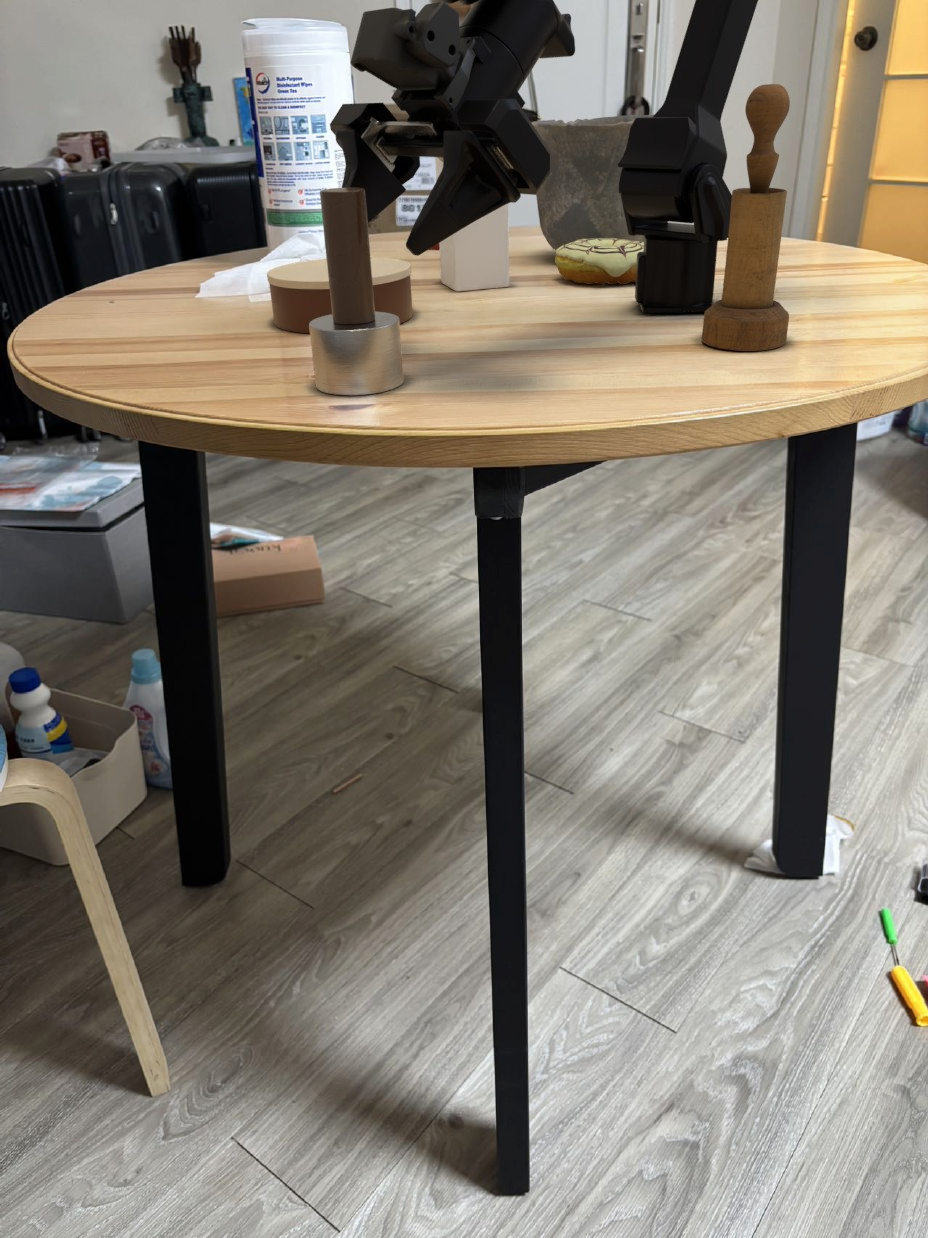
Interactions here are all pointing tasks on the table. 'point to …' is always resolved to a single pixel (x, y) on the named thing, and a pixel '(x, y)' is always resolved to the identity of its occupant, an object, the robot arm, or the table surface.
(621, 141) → the grey stone pot
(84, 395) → the table surface
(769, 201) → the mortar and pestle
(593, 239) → the decorated donut
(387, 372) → the brown and silver tamper
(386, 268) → the cake
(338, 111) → the robot arm
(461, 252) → the milk
